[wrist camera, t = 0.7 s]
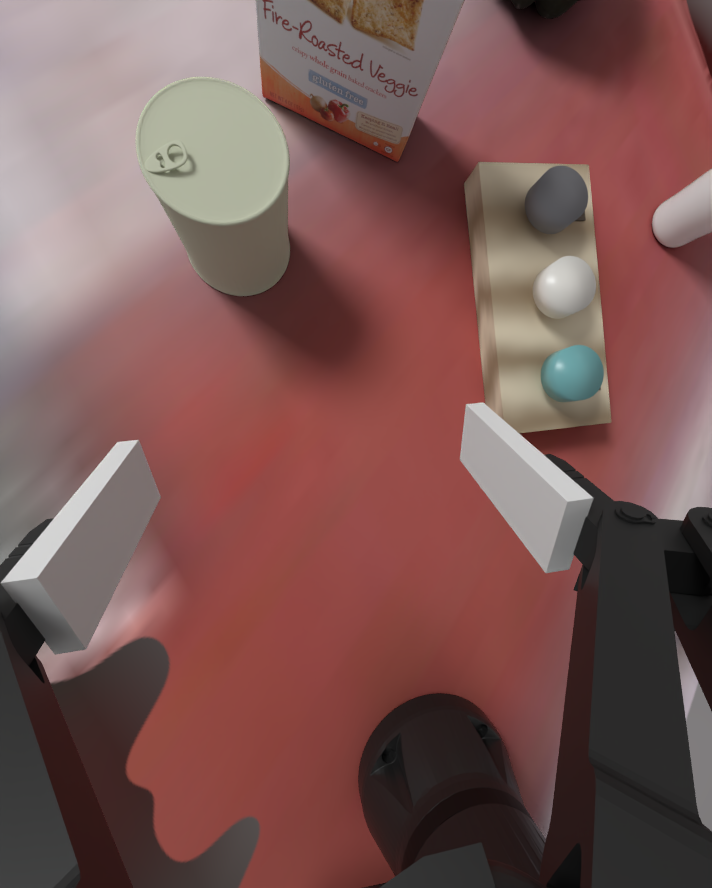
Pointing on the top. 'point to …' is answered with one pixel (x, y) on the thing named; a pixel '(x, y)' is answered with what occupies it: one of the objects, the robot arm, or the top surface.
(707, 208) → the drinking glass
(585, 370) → the teal button
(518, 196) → the button panel
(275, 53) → the cracker box
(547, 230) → the grey button
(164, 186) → the can
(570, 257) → the white button
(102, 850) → the robot arm
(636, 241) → the top surface
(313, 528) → the top surface
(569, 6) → the squash
